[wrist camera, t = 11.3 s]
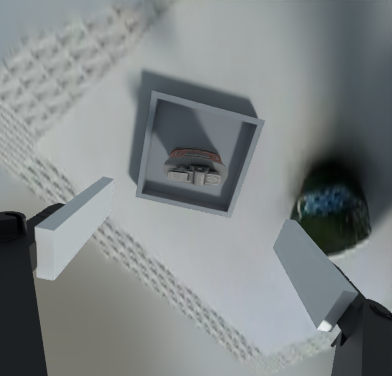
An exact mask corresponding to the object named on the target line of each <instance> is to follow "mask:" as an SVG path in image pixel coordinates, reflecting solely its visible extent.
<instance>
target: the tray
mask: <svg viewBox="0 0 392 376" xmlns="http://www.w3.org/2000/svg"><path fill="white" fill-rule="evenodd" d="M264 122H265V120H261V119H257V118H254V117H250V116H246V115H243V114H239V113H235V112H231V111H228V110H224V109H220V108H217V107H213V106H209V105H205V104H202V103H198V102H194V101H190V100H187V99H183V98H179V97H176V96H172V95H168V94H164V93H161V92H157V91H153V90H152V93H151V100H150V106H149V113H148V119H147V126H146V132H145V139H144V145H143V152H142V158H141V165H140V171H139V178H138V184H137V191H136V197H138V198H143V199H148V200H152V201H157V202H161V203H166V204H170V205H175V206H179V207H184V208H188V209H193V210H198V211H202V212H207V213H211V214H216V215H220V216H225V217H229V218H231V216H232V213H233V210H234V207H235V204H236V201H237V198H238V196H239V193H240V190H241V187H242V184H243V181H244V179H245V176H246V173H247V170H248V167H249V164H250V162H251V159H252V156H253V153H254V150H255V147H256V145H257V142H258V139H259V136H260V133H261V130H262V128H263V125H264ZM176 147H199V148H204V149H209V150H212V151H215V152H217V153H219V154H220V156H221V158H222V163H223V164H224V165H225V166H226V168H227V170H228V177H227V179H226V181H225V182H224V183H222V184H219V185H203V186H197V185H193V184H188V183H182V182H179V181H175V180H170V179H168V178H167V177H166V176H165V174H164V172H163V166H164V163H165V162H166V160H167V159H168V158H169V155H170V152H171V151H172V149H174V148H176Z"/></svg>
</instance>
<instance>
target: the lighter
mask: <svg viewBox="0 0 392 376" xmlns="http://www.w3.org/2000/svg"><path fill="white" fill-rule="evenodd" d="M163 172H164V174H165V176H166V177H167V178H168V179H170V180H175V181H179V182H182V183H188V184H193V185H197V186H203V185H219V184H222V183H224V182H225V181H226V179H227V177H228V170H227V168H226V166H225V165H224V164H223V163H222V158H221V156H220V154H219V153H217V152H215V151H212V150H209V149H204V148H199V147H176V148H174V149H172V151H171V152H170V155H169V158H168V159H167V160H166V162H165V163H164V166H163Z"/></svg>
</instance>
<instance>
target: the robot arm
mask: <svg viewBox="0 0 392 376" xmlns="http://www.w3.org/2000/svg"><path fill="white" fill-rule="evenodd" d="M113 186H114V179H111V178H107V177H102V178H101V179H100V180H98V181H97V182H95V183H94V184H93V185H91V186H90V187H89V188H87V189H86V190H84V191H83V192H82V193H80V194H79V195H78V196H76V197H75V198H74V199H72V200H71V201H69V202H68V203H67V204H62V203H57V204H54V205H51V206H49V207H47V208H46V209H44V210H43V211H42V212H40V213H38V214H36V216H33V217H32V218H30V219H29V220H27V221H26V217H25V215H24V214H22V213H20V212H13V211H11V212H10V211H6V212H0V376H48V375H47V368H46V361H45V354H44V347H43V341H42V334H41V327H40V320H39V313H38V306H37V299H36V292H35V286H34V279H33V273H32V272H33V271H34V270H35V268H36V269H37V277H38V278H43V279H48V280H55V279H56V278H57V276H58V275H59V274H60V273H61V272H62V270H63V269H64V268H65V267H66V265H67V264H68V263H69V262H70V261H71V260H72V258H73V257H74V256H75V255H76V253H77V252H78V251H79V250H80V249H81V247H82V246H83V245H84V244H85V243H86V241H87V240H88V239H89V238H90V237H91V235H92V234H93V233H94V232H95V231H96V229H97V228H98V227H99V226H100V225H101V223H102V222H103V221H104V220H105V219H106V217H107V216H108V215H109V214H110V213H111V204H112V195H113ZM273 249H274V250H275V252H276V254H277V256H278V258H279V260H280V262H281V263H282V265H283V267H284V269H285V271H286V273H287V275H288V276H289V278H290V280H291V282H292V284H293V286H294V288H295V289H296V291H297V293H298V295H299V297H300V299H301V301H302V302H303V304H304V306H305V308H306V310H307V312H308V314H309V315H310V317H311V319H312V321H313V323H314V325H315V327H316V328H317V330H323V331H328V332H331V331H332V330H333V328H334V327H335V325H336V324H337V325H338V326H339V328H340V329H341V332H340V333H339V335H338V336H337V337H336V339H335V340H334V341H333V343H332V344H331V347H334V346H335V345H336V350H335V356H334V362H333V368H332V374H331V376H392V313H391V312H390V311H389V310H388V309H387V308H385V307H384V306H382V305H381V304H379V303H377V302H375V301H373V300H370V299H366V298H365V297H364V296H363V295H362V293H361V292H360V291H359V290H358V289H357V288H356V287H355V286H354V284H353V283H352V282H351V281H349V279H348V278H347V276H345V275H344V273H343V272H342V271H341V270H340V269H339V267H337V266H336V265H335V264H334V263H332V262H331V261H330V260H329V259H328V257H327V256H326V255H325V254H324V253H323V252H322V251H321V249H320V248H319V247H318V246H317V245H316V244H315V242H314V241H313V240H312V239H311V238H310V237H309V236H308V234H307V233H306V232H305V231H304V230H303V229H302V227H301V226H300V225H299V224H298V223H297V222H296V221H294V220H290V219H286V221H285V223H284V225H283V227H282V229H281V231H280V234H279V236H278V238H277V240H276V242H275V244H274V247H273Z"/></svg>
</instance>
